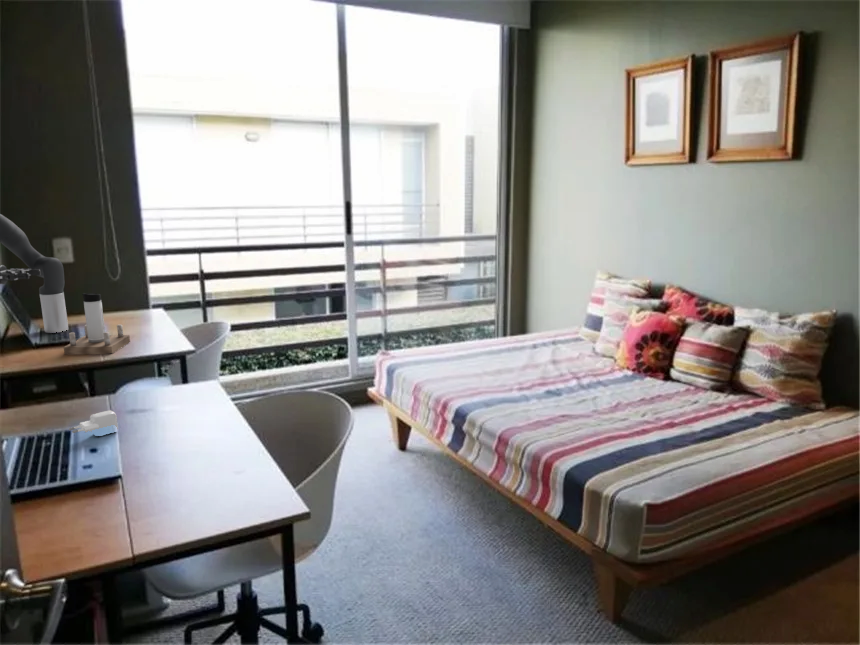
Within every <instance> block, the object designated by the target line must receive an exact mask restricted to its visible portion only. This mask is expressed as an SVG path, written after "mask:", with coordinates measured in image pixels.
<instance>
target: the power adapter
mask: <svg viewBox="0 0 860 645" xmlns="http://www.w3.org/2000/svg"><path fill="white" fill-rule="evenodd" d="M117 417H118V416H117V414H116V412H115V411H113V410H109V409H108V410H104V411H100V412H97V413H92V414H90V417H89V420H86V421H81V422H79V424H78V425H76V426H72V427H68V431H71V432H72V434H76V433H78V432H84V431H85V432H84V433H89V432H92V430H95V429H99V428H103V427H107V426H111V425H115V426H116V427H117V429H118V430H119V426H118V425H119V424H118V418H117ZM80 428H81V429H80ZM88 431H89V432H88Z"/></svg>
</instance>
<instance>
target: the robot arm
mask: <svg viewBox="0 0 860 645" xmlns="http://www.w3.org/2000/svg"><path fill="white" fill-rule="evenodd" d="M30 242H31V241H29V238H28V236H27V235H26V233H25V232H24V231H23V230H22V229H21V228H20V226H19V227H18V225H16V224H15V223H14V222H13V221H12V220H10V219H9V218H7V217H6V216H5V215H3V214H1V213H0V244H2V246H4V247H5V248H6V249H8V250H9V251H10V252H12V254H14V255H15V256H16V257H18V259H20V260H21V261H22V262H23V264H25V265H26V268H25V267H24V268H17V267H16V268H9V269H8V268H7V266H5V265H4V264H0V285H5V284H6V283H8V282H9V281H12V282H13V281H17V280H29V279H30V276H37V277H40V278H43V285H42V286H40V287H39V289H38V292H39V298H40V299H39V300H40V305H41V313H42V321H43V327H44V328H43V329H44V333H47V334H52V333H53V334H54V333H56V332H57V333H62V331H63V332H66V330H67V331H69V323H68V322H69V321H68V314H67V309H66V308H67V307H66V300H65V292H64V288H65V272H64V270H65V269H64V266H63V263H62V261H61V260H60V259H59V258H57V257H52V256H51V257H49V256H44V255H43V254H41V253H40V252H39V251H37V250H36V249H35V248H34V247H33V246H32V245H31V243H30ZM27 267H28V268H27Z"/></svg>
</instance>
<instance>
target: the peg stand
mask: <svg viewBox="0 0 860 645" xmlns="http://www.w3.org/2000/svg"><path fill="white" fill-rule="evenodd" d="M83 326H84V327H83V328H84V336H82V337H80V338H78V339H77V340H76V332H69V333H68V337H69V344H67V345H65V346H64V347H63V351H64V353H63V354H64V355H68V356H69V355H107V354H106V353H113V352H114V353H116V352H118V351H119V350H120V349H122V348H124V347H125V346H126V344H127V345H129V342H130V343H131V339H130V338H131V337H130V335H129V334H126V335H125V334H124V330H123V324H117V325H116V328H117V330H116V331H117V334H116V335H115V334H114V335H113V334H112V335H110V332H109V331H105V332H104V333H103V334H104V342H99V343H90V342H89V341H88V333H87V325H86V324H85V325H83ZM124 345H125V346H124ZM121 347H122V348H121ZM118 349H119V350H118ZM115 351H116V352H115ZM114 353H113V354H114Z"/></svg>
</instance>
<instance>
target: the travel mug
mask: <svg viewBox="0 0 860 645" xmlns="http://www.w3.org/2000/svg"><path fill="white" fill-rule="evenodd" d="M82 298H83V307H84V308H83V309H84V315H85V323H86V324H85V325H87V333H88V341H89V342H90V343H99V342H104V334H103V333H104V332H106V329H105V320H104V312H103V302H102V296H101V294H100V293H94V292H93V293H92V292H86V293H85V292H83V293H82Z"/></svg>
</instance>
